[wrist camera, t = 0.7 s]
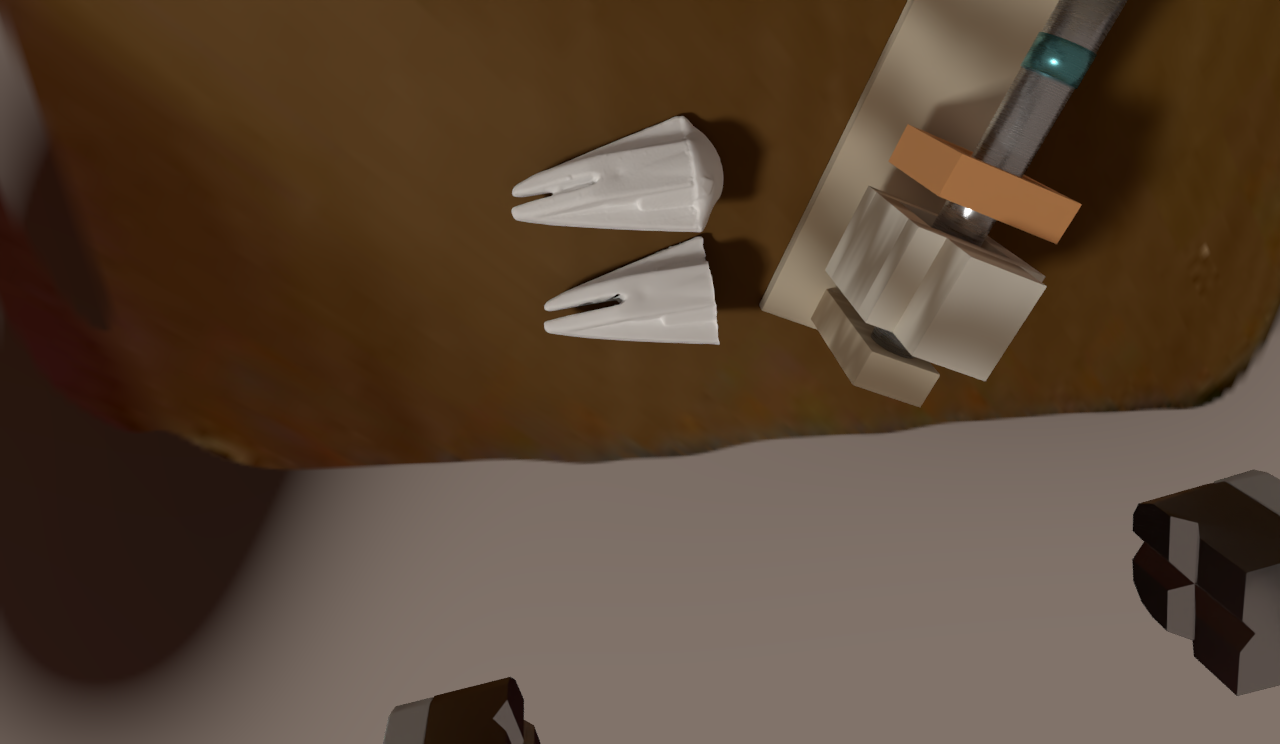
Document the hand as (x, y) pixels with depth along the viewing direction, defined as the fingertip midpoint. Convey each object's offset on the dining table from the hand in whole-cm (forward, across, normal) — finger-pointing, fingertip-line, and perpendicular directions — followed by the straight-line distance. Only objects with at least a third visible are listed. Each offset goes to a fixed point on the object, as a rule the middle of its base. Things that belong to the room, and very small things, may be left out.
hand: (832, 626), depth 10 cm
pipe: (+30, -18, +3) cm, 35 cm away
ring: (+33, -18, +3) cm, 38 cm away
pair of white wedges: (+38, 0, +3) cm, 38 cm away
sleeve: (+34, -15, +7) cm, 38 cm away
